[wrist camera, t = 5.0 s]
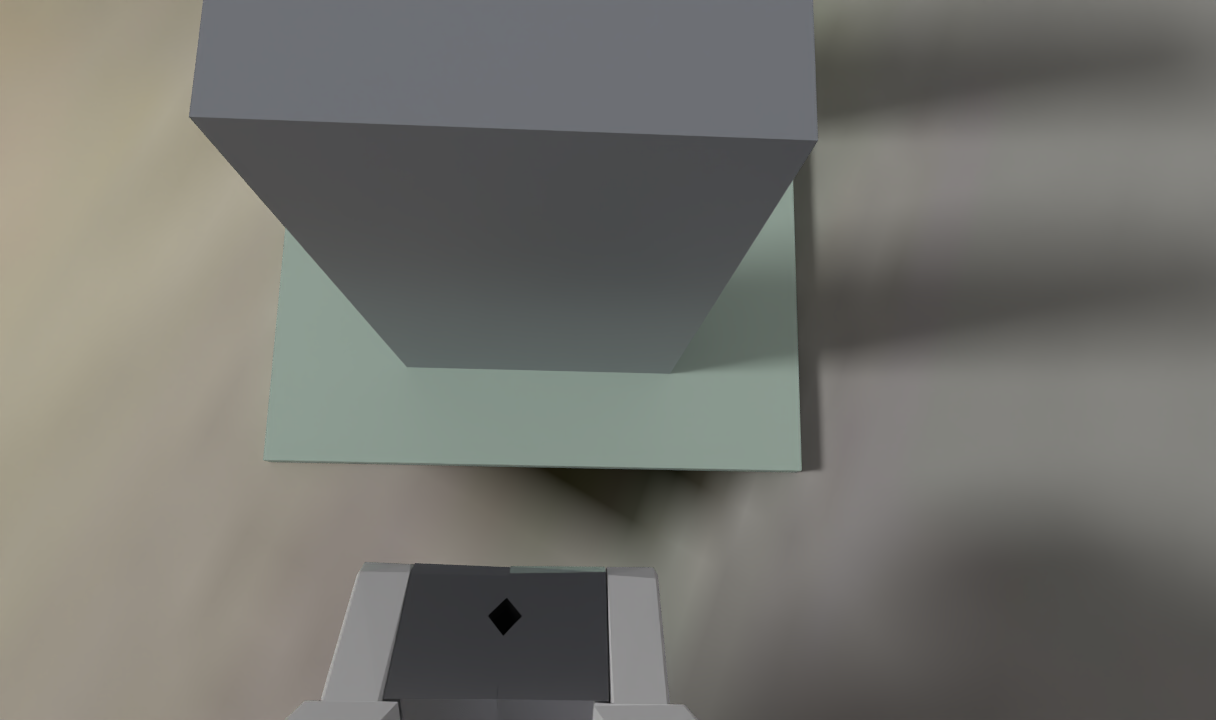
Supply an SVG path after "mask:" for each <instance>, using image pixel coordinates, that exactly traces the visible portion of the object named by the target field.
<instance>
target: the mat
mask: <svg viewBox="0 0 1216 720" xmlns="http://www.w3.org/2000/svg"><path fill="white" fill-rule="evenodd" d="M263 460H265V461H269V462H297V463H347V464H398V465H449V466H499V467H550V468H600V469H651V470H701V471H752V472H799V471H802V466H801V433H800V399H799V365H798V331H797V298H796V264H795V230H794V196H793V181H792V182H791V184H790V185H789V187H788V189H787V190H786V192H785V193H784V195H783V196H782V198H781V200H780V201H779V203H778V204H777V206H776V208H775V209H774V211H773V212H772V214H771V215H770V217H769V219H768V220H767V222H766V223H765V225H764V226H763V228H762V230H761V231H760V233H759V234H758V236H757V237H756V239H755V241H754V242H753V244H752V245H751V247H750V249H749V250H748V252H747V253H746V255H745V256H744V258H743V260H742V261H741V263H740V264H739V266H738V267H737V269H736V271H735V272H734V274H733V275H732V277H731V278H730V280H729V282H728V283H727V285H726V286H725V288H724V289H723V291H722V293H721V294H720V296H719V297H718V299H717V301H716V302H715V304H714V305H713V307H712V308H711V310H710V312H709V313H708V315H707V316H706V318H705V319H704V321H703V323H702V324H701V326H700V327H699V329H698V330H697V332H696V334H695V335H694V337H693V338H692V340H691V342H690V343H689V345H688V346H687V348H686V349H685V351H684V353H683V354H682V356H681V357H680V359H679V360H678V362H677V364H676V365H675V367H674V368H673V370H672V371H671V373H670V374H657V373H617V372H577V371H537V370H497V369H457V368H417V367H406V366H405V365H404V363H403V362H402V361H401V360H400V359H399V358H398V357H397V355H396V354H395V353H394V352H393V351H392V350H391V348H390V347H389V346H388V345H387V344H386V343H385V342H384V340H383V339H382V338H381V337H380V336H379V335H378V334H377V332H376V331H375V330H374V329H373V328H372V327H371V325H370V324H369V323H368V322H367V321H366V320H365V319H364V317H363V316H362V315H361V314H360V313H359V312H358V311H357V309H356V308H355V307H354V306H353V305H352V304H351V302H350V301H349V300H348V299H347V298H346V297H345V296H344V294H343V293H342V292H341V291H340V290H339V289H338V287H337V286H336V285H335V284H334V283H333V282H332V281H331V279H330V278H329V277H328V276H327V275H326V274H325V273H324V271H323V270H322V269H321V268H320V267H319V266H318V264H317V263H316V262H315V261H314V260H313V259H312V258H311V256H310V255H309V254H308V253H307V252H306V251H305V250H304V248H303V247H302V246H301V245H300V244H299V243H298V241H297V240H296V239H295V238H294V237H293V236H292V235H291V233H290V232H289V231H288V230H287V229H286V228H285V237H284V248H283V258H282V269H281V279H280V290H279V300H278V311H277V321H276V332H275V342H274V353H273V363H272V374H271V384H270V395H269V405H268V416H267V426H266V437H265V447H264V458H263Z"/></svg>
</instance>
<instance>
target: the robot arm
mask: <svg viewBox="0 0 1216 720" xmlns="http://www.w3.org/2000/svg"><path fill="white" fill-rule="evenodd" d="M285 720H697V718H696V717H695V716H694V715H693V714H692V712H691V711H690V710H689V709H688V707H687V706H686V705H685V704H670V699H669V688H668V678H667V667H666V657H665V646H664V635H663V625H662V614H661V604H660V593H659V583H658V575H657V573H656V571H655V569H654V567H607V568H606V570H605V567H552V566H511V567H491V566H467V565H443V564H419V563H415V564H398V563H373V562H365V563H364V565H363V566H362V568H361V569H360V571H359V572H358V574H357V576H356V580H355V583H354V587H353V590H352V593H351V597H350V600H349V604H348V607H347V611H346V614H345V618H344V621H343V624H342V628H341V631H340V635H339V638H338V642H337V645H336V649H335V652H334V655H333V659H332V662H331V666H330V669H329V673H328V676H327V680H326V683H325V687H324V690H323V693H322V697H321V700H311V701H304V702H303V703H302V704H301V705H300V706H299V707H297V708H296V709H295V710H294V711H293V712H292V713H291V714H290V715H289V716H288V717H287V718H286V719H285Z"/></svg>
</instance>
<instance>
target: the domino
mask: <svg viewBox="0 0 1216 720" xmlns="http://www.w3.org/2000/svg"><path fill="white" fill-rule="evenodd" d="M189 117H190V118H191V120H192V121H193V122H194V123H195V124H196V125H197V126H198V128H199V129H200V130H201V131H202V132H203V133H204V135H205V136H206V137H207V138H208V139H209V140H210V141H211V143H212V144H213V145H214V146H215V147H216V148H217V149H218V151H219V152H220V153H221V154H222V155H223V156H224V158H225V159H226V160H227V161H228V162H229V163H230V164H231V166H232V167H233V168H234V169H235V170H236V171H237V172H238V174H239V175H240V176H241V177H242V178H243V179H244V181H245V182H246V183H247V184H248V185H249V186H250V187H251V189H252V190H253V191H254V192H255V193H256V194H257V195H258V197H259V198H260V199H261V200H262V201H263V202H264V204H265V205H266V206H267V207H268V208H269V209H270V210H271V212H272V213H273V214H274V215H275V216H276V217H277V218H278V220H279V221H280V222H281V223H282V224H283V225H284V227H285V228H286V229H287V230H288V231H289V232H290V233H291V235H292V236H293V237H294V238H295V239H296V240H297V241H298V243H299V244H300V245H301V246H302V247H303V248H304V250H305V251H306V252H307V253H308V254H309V255H310V256H311V258H312V259H313V260H314V261H315V262H316V263H317V264H318V266H319V267H320V268H321V269H322V270H323V271H324V273H325V274H326V275H327V276H328V277H329V278H330V279H331V281H332V282H333V283H334V284H335V285H336V286H337V287H338V289H339V290H340V291H341V292H342V293H343V294H344V296H345V297H346V298H347V299H348V300H349V301H350V302H351V304H352V305H353V306H354V307H355V308H356V309H357V311H358V312H359V313H360V314H361V315H362V316H363V317H364V319H365V320H366V321H367V322H368V323H369V324H370V325H371V327H372V328H373V329H374V330H375V331H376V332H377V334H378V335H379V336H380V337H381V338H382V339H383V340H384V342H385V343H386V344H387V345H388V346H389V347H390V348H391V350H392V351H393V352H394V353H395V354H396V355H397V357H398V358H399V359H400V360H401V361H402V362H403V363H404V365H405V366H406V367H417V368H457V369H497V370H537V371H577V372H617V373H657V374H670V373H671V371H672V370H673V368H674V367H675V365H676V364H677V362H678V360H679V359H680V357H681V356H682V354H683V353H684V351H685V349H686V348H687V346H688V345H689V343H690V342H691V340H692V338H693V337H694V335H695V334H696V332H697V330H698V329H699V327H700V326H701V324H702V323H703V321H704V319H705V318H706V316H707V315H708V313H709V312H710V310H711V308H712V307H713V305H714V304H715V302H716V301H717V299H718V297H719V296H720V294H721V293H722V291H723V289H724V288H725V286H726V285H727V283H728V282H729V280H730V278H731V277H732V275H733V274H734V272H735V271H736V269H737V267H738V266H739V264H740V263H741V261H742V260H743V258H744V256H745V255H746V253H747V252H748V250H749V249H750V247H751V245H752V244H753V242H754V241H755V239H756V237H757V236H758V234H759V233H760V231H761V230H762V228H763V226H764V225H765V223H766V222H767V220H768V219H769V217H770V215H771V214H772V212H773V211H774V209H775V208H776V206H777V204H778V203H779V201H780V200H781V198H782V196H783V195H784V193H785V192H786V190H787V189H788V187H789V185H790V184H791V182H792V181H793V179H794V178H795V176H796V174H797V173H798V171H799V170H800V168H801V167H802V165H803V163H804V162H805V160H806V159H807V157H808V155H809V154H810V152H811V151H812V149H813V148H814V146H815V144H816V143H817V141H818V127H817V99H816V72H815V44H814V16H813V0H203V7H202V15H201V23H200V32H199V40H198V48H197V56H196V64H195V72H194V81H193V89H192V97H191V105H190V113H189Z"/></svg>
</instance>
